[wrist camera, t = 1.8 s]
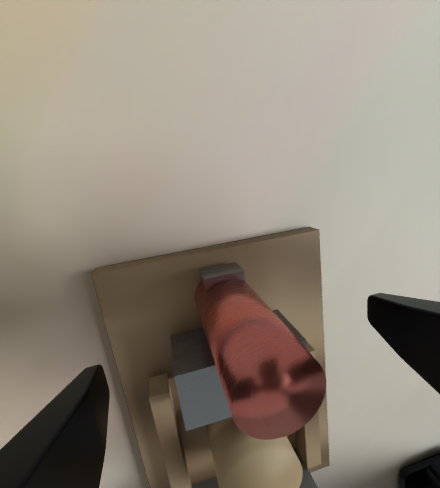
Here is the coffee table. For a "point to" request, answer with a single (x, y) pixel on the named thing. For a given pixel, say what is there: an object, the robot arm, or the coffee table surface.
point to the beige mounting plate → (187, 318)
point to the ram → (244, 362)
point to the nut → (252, 459)
